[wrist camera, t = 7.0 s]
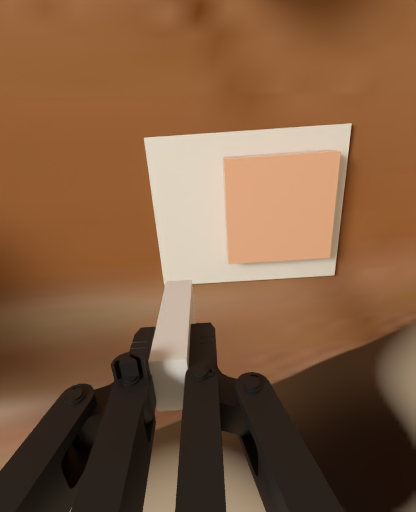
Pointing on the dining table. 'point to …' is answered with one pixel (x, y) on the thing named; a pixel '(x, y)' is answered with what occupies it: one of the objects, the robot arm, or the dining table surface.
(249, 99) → the dining table surface
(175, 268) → the mat
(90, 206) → the dining table surface
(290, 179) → the tile
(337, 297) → the dining table surface
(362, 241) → the dining table surface
